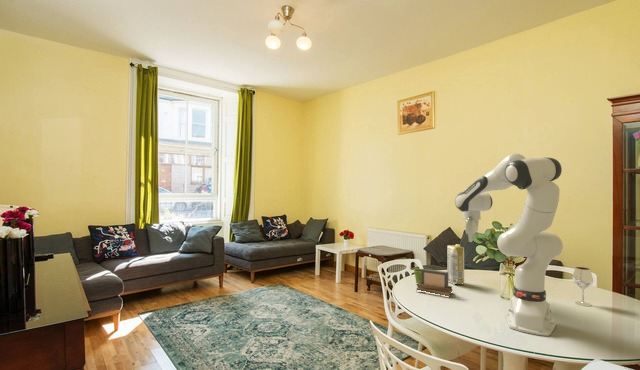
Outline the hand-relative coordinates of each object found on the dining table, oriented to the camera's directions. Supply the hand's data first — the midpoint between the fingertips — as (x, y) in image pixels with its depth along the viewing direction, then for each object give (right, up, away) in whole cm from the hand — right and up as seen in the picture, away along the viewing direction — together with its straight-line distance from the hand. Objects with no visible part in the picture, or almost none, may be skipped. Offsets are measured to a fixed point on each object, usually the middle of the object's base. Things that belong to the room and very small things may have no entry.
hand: (471, 240), depth 181 cm
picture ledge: (-21, -29, +1) cm, 36 cm away
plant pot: (-23, -30, +16) cm, 41 cm away
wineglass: (+48, -29, -17) cm, 59 cm away
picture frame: (-20, -27, +1) cm, 34 cm away
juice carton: (-1, -30, +19) cm, 35 cm away
